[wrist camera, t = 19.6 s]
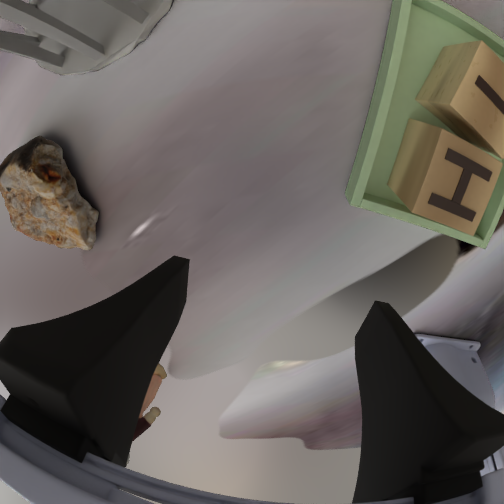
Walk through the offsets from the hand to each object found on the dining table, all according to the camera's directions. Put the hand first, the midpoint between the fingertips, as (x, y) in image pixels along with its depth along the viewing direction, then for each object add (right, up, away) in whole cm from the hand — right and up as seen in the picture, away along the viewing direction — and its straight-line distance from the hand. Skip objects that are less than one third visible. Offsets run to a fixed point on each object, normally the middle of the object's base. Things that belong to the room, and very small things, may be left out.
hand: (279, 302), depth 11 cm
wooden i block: (+12, +12, +2) cm, 16 cm away
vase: (-12, +20, +1) cm, 23 cm away
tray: (+12, +10, +3) cm, 16 cm away
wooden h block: (+10, +7, +5) cm, 13 cm away
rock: (-17, +7, +9) cm, 20 cm away
